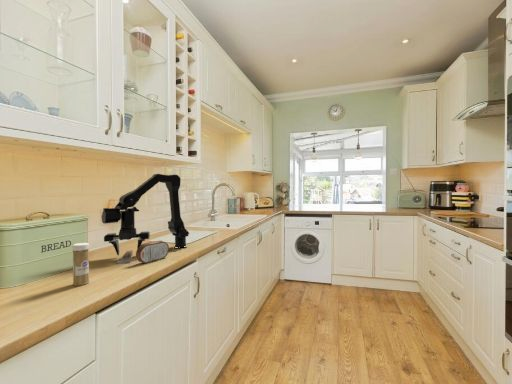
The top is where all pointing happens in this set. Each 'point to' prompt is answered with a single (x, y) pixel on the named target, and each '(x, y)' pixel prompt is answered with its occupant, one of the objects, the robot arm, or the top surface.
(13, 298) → the top surface
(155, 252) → the tin
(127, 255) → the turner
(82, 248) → the sprinkles bottle
